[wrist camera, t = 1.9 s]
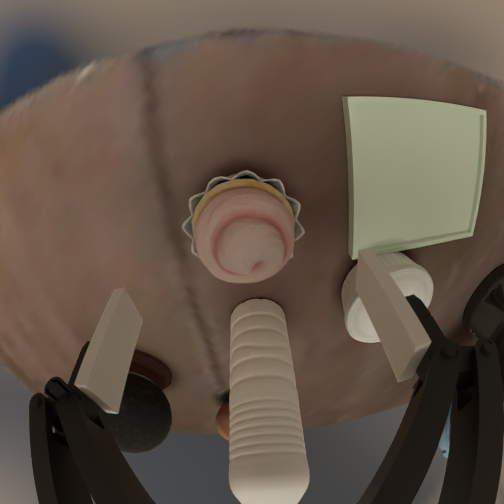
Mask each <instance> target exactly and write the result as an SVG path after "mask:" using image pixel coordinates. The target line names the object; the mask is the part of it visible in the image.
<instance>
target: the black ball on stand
mask: <svg viewBox="0 0 504 504" xmlns="http://www.w3.org/2000/svg"><path fill="white" fill-rule="evenodd" d="M171 379H172V373H171V371H170V369H169V368H168V367H167V366H166V365H165V364H164V363H163V362H162V361H160V360H159V359H157V358H155V357H153V356H152V355H149V354H147V353H144V352H141V351H138V350H134V353H133V357H132V360H131V364H130V368H129V372H128V375H127V379H126V383H125V387H124V391H123V395H122V400H121V404H120V408H119V413H118V414H114V413H107V412H105V411H104V410H103V409H102V408H100V409H99V412H100V413H101V415H102V416H103V418H104V420H105V423H106V425H107V427H108V429H109V431H110V432H111V434H112V436H113V438H114V440H115V442H116V444H117V446H118V447H119V449H120V450H121V451H124V452H131V453H140V452H146V451H149V450H151V449H153V448H155V447H157V446H158V445H159V444H161V443H162V442H163V440H164V439H165V438H166V436H167V434H168V432H169V430H170V427H171V423H172V414H171V409H170V404H169V402H168V400H167V397H166V396H165V394H164V393H163V391H162V390H163V389H165V388H166V387H167V386H169V384H170V383H171Z"/></svg>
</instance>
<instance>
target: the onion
mask: <svg viewBox="0 0 504 504" xmlns="http://www.w3.org/2000/svg"><path fill="white" fill-rule="evenodd" d="M229 416H230V410H229V403H226V404H223V405H222V407H221V408H220V409H219V412H218V413H217V416H216V428H217V430H218V432H219V434H220V435H221V436H222V437H224V438H225V439H227V440H229V439H230V435H229V431H230V427H229V423H230V419H229Z"/></svg>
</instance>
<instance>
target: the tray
mask: <svg viewBox="0 0 504 504" xmlns="http://www.w3.org/2000/svg"><path fill="white" fill-rule="evenodd" d="M342 104H343V113H344V123H345V134H346V148H347V165H348V193H349V239H348V253H349V255H350V257H351V258H352V260H355V259H358V250H361V249H366V248H372V250H373V251H374V252H375V254H376V255H382V254H387V253H392V252H397V251H402V250H408V249H413V248H418V247H423V246H428V245H432V244H437V243H442V242H447V241H452V240H456V239H461V238H466V237H470V236H473V232H474V227H475V223H476V218H477V213H478V208H479V202H480V196H481V189H482V182H483V174H484V164H485V151H486V110H482V109H478V108H473V107H468V106H463V105H457V104H451V103H445V102H438V101H430V100H421V99H411V98H397V97H376V96H342Z"/></svg>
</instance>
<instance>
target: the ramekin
mask: <svg viewBox="0 0 504 504" xmlns="http://www.w3.org/2000/svg"><path fill="white" fill-rule="evenodd" d="M377 257H378V258H379V259H380V261H381V262H382V264H383V265H384V266H385V268H386V269H387V271H388V272H389V274H390V275H391V277H392V278H393V280H394V281H395V283H396V284H397V286H398V287H399V289H400V290H401V292H402V293H403V295H404V296H405V297H406V296H409V295H413V294H414V295H415V296H417V297H418V298H419V299H421V300H422V301H423V303H424V304H425V306H426V307H427V308H428V306H429V304H430V302H431V299H432V295H433V282H432V279H431V277H430V275H429V274H428V272H427V271H426V270H425V269H424V268H423V267H421V266H420V265H417V264H416V263H415V262H413V261H412V260H411V259H410V258H408V257H407V256H406V255H404V254H403V253H401V252H398V251H397V252H392V253H387V254H382V255H377ZM356 276H357V264H356V265H355V266H354V267H353V268H352V269H351V271H350V272H349V274H348V275H347V277H346V279H345V281H344V283H343V286H342V293H341V296H342V303H343V309H344V313H345V315H344V321H345V326H346V328H347V331H348V333H349V334H350V336H351V337H353V338H354V339H356V340H358V341H361V342H369V343H371V342H380V339H379V337H378V335H377V333H376V331H375V329H374V326H373V324H372V322H371V320H370V318H369V316H368V314H367V312H366V310H365V307H364V305H363V303H362V301H361V299H360V297H359V295H358V293H357V291H356V289H355V286H356Z"/></svg>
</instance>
